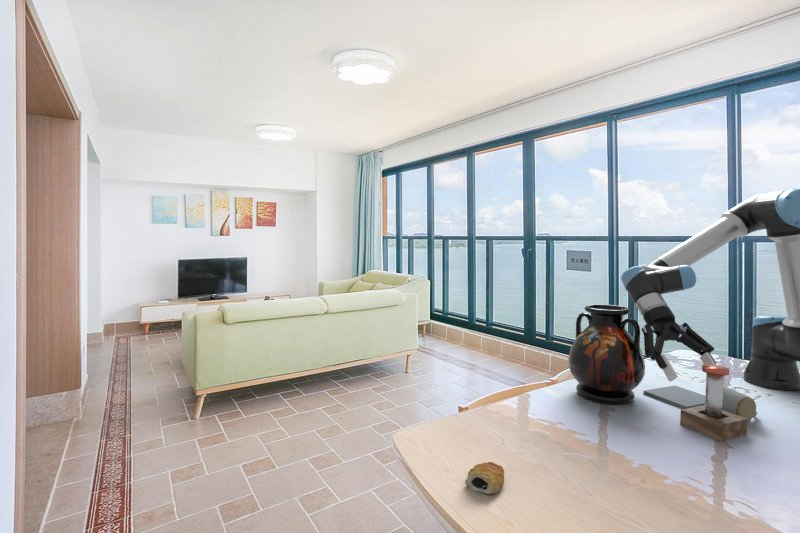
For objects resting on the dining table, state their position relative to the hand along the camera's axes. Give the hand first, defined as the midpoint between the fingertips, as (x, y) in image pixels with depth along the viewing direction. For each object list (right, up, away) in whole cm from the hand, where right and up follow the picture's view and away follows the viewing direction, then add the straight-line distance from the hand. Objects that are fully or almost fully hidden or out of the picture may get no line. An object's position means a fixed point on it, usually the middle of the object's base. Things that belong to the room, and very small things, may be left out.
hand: (696, 377), depth 113 cm
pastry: (-61, -14, -27) cm, 69 cm away
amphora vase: (-14, -11, +20) cm, 27 cm away
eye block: (+2, -12, -3) cm, 13 cm away
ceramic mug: (+14, -12, +5) cm, 19 cm away
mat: (+8, -11, +18) cm, 23 cm away
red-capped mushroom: (+2, -12, -3) cm, 13 cm away
